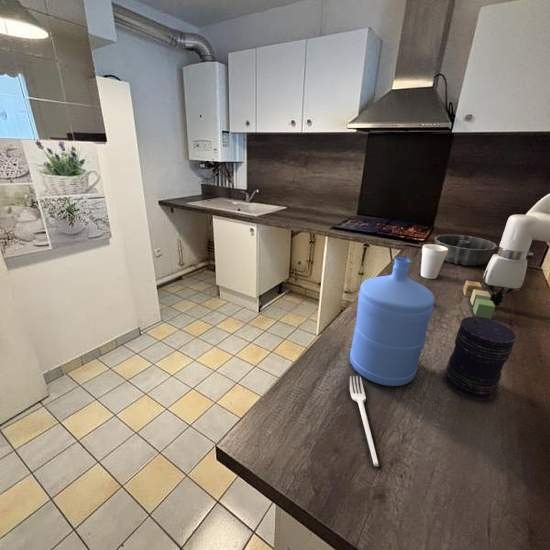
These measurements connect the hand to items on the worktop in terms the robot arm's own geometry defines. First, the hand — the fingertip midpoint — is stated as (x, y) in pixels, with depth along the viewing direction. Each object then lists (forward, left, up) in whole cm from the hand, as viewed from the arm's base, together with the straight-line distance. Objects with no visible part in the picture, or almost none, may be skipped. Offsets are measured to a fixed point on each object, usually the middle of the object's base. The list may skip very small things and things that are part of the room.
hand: (494, 303), depth 101 cm
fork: (+34, +67, -2) cm, 75 cm away
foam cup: (+20, -21, -2) cm, 29 cm away
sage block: (+5, +8, -1) cm, 9 cm away
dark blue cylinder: (+14, +47, -2) cm, 49 cm away
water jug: (+33, +49, -2) cm, 59 cm away
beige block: (+5, 0, -1) cm, 5 cm away
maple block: (+6, -8, -1) cm, 10 cm away
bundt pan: (+5, -51, -2) cm, 51 cm away
